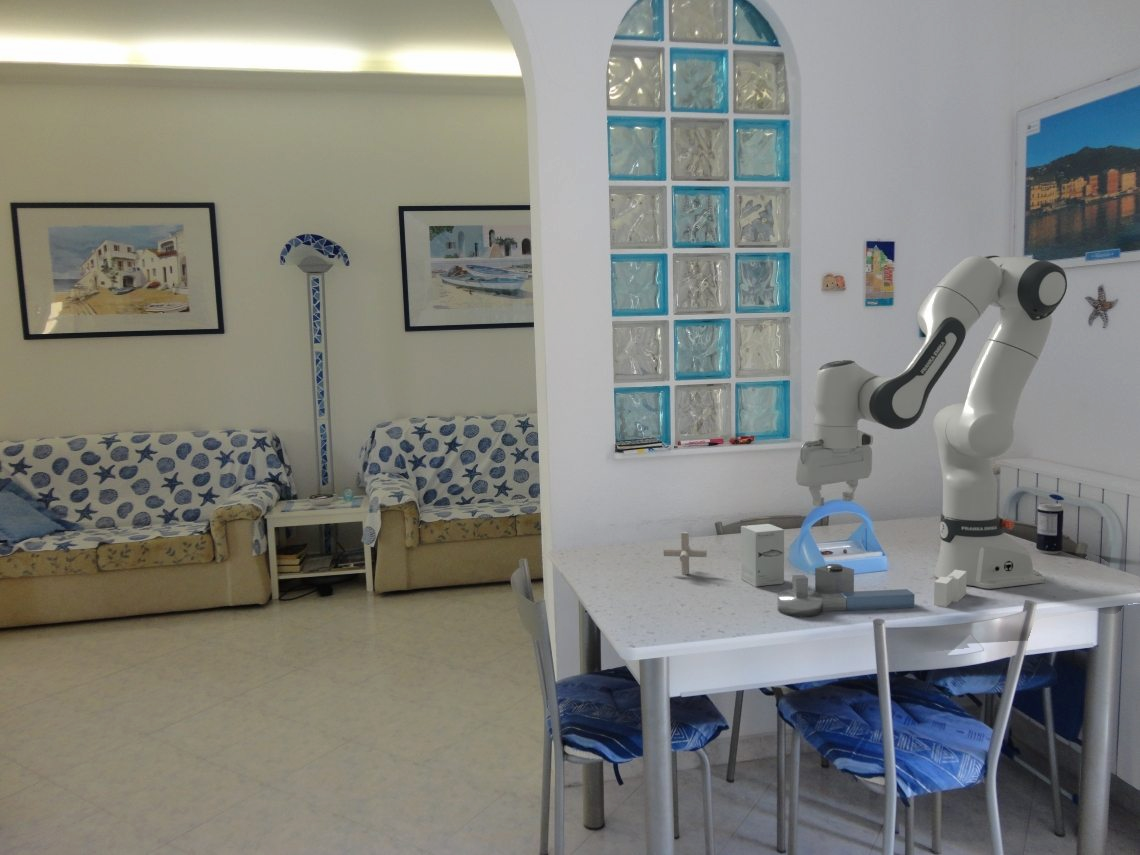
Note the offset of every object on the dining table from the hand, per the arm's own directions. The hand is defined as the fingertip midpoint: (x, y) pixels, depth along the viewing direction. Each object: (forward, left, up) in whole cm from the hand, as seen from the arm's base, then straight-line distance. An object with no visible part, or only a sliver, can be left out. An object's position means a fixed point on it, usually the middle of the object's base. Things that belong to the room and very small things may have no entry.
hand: (833, 503), depth 185 cm
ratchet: (+1, +8, -20) cm, 22 cm away
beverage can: (-64, -27, -20) cm, 73 cm away
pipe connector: (+28, -22, -20) cm, 41 cm away
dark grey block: (0, 0, -20) cm, 20 cm away
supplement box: (+12, -13, -20) cm, 27 cm away
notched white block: (-22, +6, -21) cm, 31 cm away
